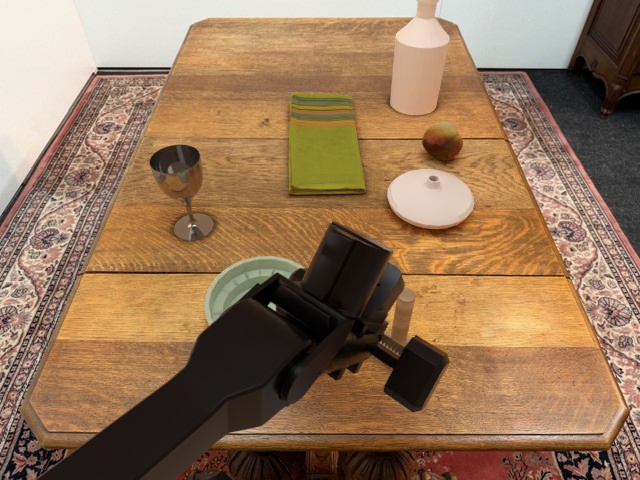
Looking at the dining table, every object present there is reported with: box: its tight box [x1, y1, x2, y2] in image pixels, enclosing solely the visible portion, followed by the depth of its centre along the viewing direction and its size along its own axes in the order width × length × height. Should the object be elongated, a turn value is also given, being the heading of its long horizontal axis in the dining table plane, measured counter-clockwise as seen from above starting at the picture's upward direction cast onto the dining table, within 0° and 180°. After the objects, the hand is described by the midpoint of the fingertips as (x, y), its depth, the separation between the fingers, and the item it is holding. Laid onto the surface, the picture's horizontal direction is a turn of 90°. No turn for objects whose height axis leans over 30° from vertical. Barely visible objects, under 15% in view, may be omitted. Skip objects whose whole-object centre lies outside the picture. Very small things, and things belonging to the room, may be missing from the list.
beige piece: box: [379, 287, 417, 356], centre depth 63 cm, size 5×5×13 cm
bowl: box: [203, 255, 305, 327], centre depth 70 cm, size 16×16×5 cm
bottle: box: [389, 0, 451, 116], centre depth 107 cm, size 12×12×25 cm
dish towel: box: [288, 92, 367, 195], centre depth 103 cm, size 15×36×3 cm, turn 2°
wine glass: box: [149, 144, 215, 241], centre depth 81 cm, size 8×8×15 cm
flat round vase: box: [386, 168, 475, 230], centre depth 86 cm, size 16×16×7 cm
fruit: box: [421, 120, 464, 162], centre depth 97 cm, size 8×8×8 cm
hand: (382, 328), depth 56 cm, fingers open, 9 cm apart
